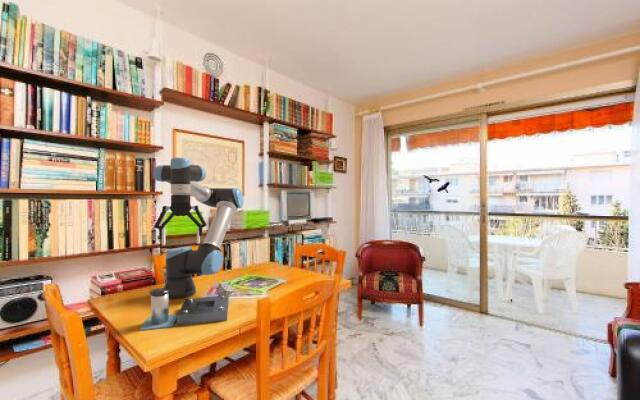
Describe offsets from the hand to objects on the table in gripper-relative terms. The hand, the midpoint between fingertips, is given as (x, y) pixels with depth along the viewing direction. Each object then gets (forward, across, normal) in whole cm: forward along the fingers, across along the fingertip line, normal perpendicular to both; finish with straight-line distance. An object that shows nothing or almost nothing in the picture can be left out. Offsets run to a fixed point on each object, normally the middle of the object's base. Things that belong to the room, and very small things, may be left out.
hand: (181, 243), depth 125 cm
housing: (+29, +10, -7) cm, 31 cm away
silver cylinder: (+28, -6, -11) cm, 31 cm away
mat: (+29, -6, -11) cm, 31 cm away
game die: (+29, +17, +10) cm, 35 cm away
